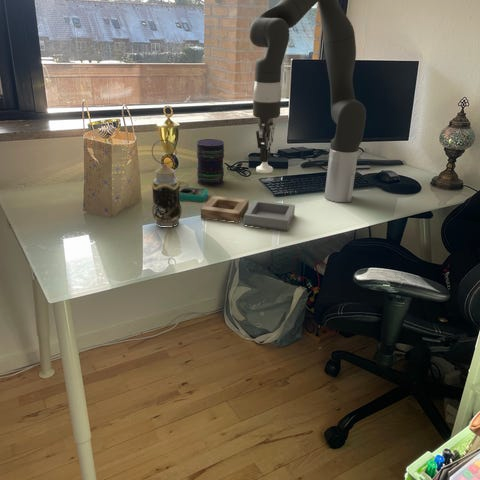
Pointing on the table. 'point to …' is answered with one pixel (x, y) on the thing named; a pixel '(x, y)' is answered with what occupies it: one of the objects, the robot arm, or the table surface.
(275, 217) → the parts tray
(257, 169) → the chess piece
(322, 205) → the table surface
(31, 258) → the table surface
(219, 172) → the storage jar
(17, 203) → the table surface
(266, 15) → the robot arm
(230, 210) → the socket stand
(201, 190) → the digital multimeter
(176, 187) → the lantern
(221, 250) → the table surface
